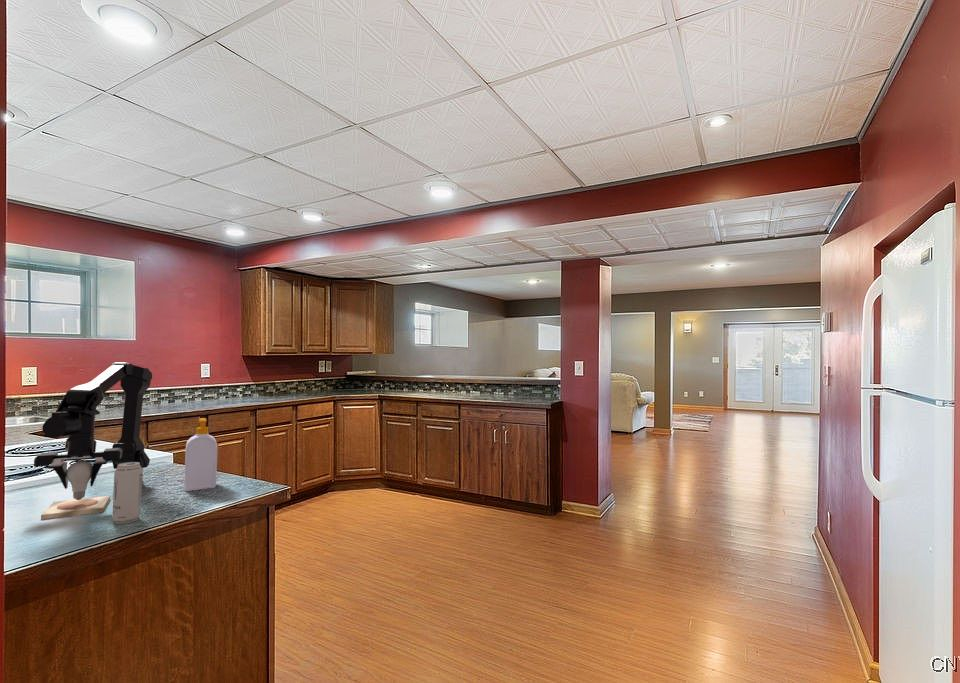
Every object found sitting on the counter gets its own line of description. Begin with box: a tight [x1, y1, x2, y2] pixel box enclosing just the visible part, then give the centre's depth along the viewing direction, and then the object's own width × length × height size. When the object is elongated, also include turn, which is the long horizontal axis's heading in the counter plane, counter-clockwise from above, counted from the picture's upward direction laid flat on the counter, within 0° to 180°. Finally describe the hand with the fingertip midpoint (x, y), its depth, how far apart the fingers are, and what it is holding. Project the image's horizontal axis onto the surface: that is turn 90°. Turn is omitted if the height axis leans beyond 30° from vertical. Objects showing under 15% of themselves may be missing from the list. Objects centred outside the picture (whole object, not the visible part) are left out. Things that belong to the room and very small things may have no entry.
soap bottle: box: [183, 417, 219, 492], centre depth 158 cm, size 9×7×23 cm
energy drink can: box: [111, 462, 143, 525], centre depth 126 cm, size 6×6×15 cm
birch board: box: [40, 495, 111, 520], centre depth 134 cm, size 13×13×1 cm
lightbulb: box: [66, 460, 93, 500], centre depth 134 cm, size 6×6×11 cm
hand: (79, 487), depth 134 cm, fingers open, 5 cm apart
